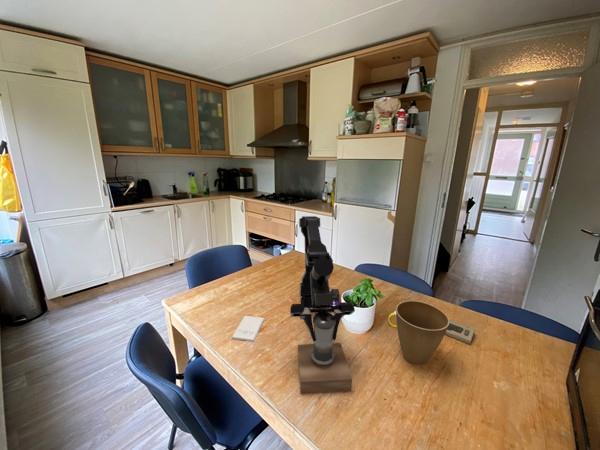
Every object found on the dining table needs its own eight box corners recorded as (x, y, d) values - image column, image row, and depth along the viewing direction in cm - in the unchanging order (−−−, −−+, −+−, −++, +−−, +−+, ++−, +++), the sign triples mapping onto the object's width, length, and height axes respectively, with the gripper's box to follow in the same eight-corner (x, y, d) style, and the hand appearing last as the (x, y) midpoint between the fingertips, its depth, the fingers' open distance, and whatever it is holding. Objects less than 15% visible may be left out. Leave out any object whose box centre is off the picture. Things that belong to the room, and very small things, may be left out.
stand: (297, 355, 82) (297, 344, 81) (339, 353, 83) (340, 342, 82) (300, 393, 69) (300, 381, 68) (351, 391, 70) (352, 379, 69)
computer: (421, 326, 98) (423, 319, 97) (428, 317, 103) (429, 310, 103) (469, 346, 88) (471, 338, 87) (473, 335, 93) (475, 327, 92)
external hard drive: (264, 321, 100) (253, 343, 88) (244, 319, 101) (231, 340, 89) (264, 317, 100) (253, 339, 88) (244, 315, 101) (231, 336, 89)
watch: (403, 326, 97) (406, 313, 96) (403, 331, 95) (406, 317, 93) (387, 322, 99) (390, 309, 98) (387, 326, 97) (389, 313, 95)
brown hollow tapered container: (381, 347, 86) (385, 306, 82) (414, 336, 92) (419, 296, 88) (416, 382, 73) (424, 335, 69) (452, 366, 78) (461, 321, 74)
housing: (318, 344, 79) (319, 308, 76) (338, 354, 76) (340, 316, 72) (306, 358, 74) (307, 320, 71) (327, 369, 70) (329, 329, 67)
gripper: (290, 279, 72) (292, 339, 64) (355, 277, 73) (364, 336, 65) (289, 290, 82) (291, 343, 74) (346, 288, 83) (353, 340, 75)
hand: (324, 340), depth 72 cm, fingers closed on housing, 6 cm apart
